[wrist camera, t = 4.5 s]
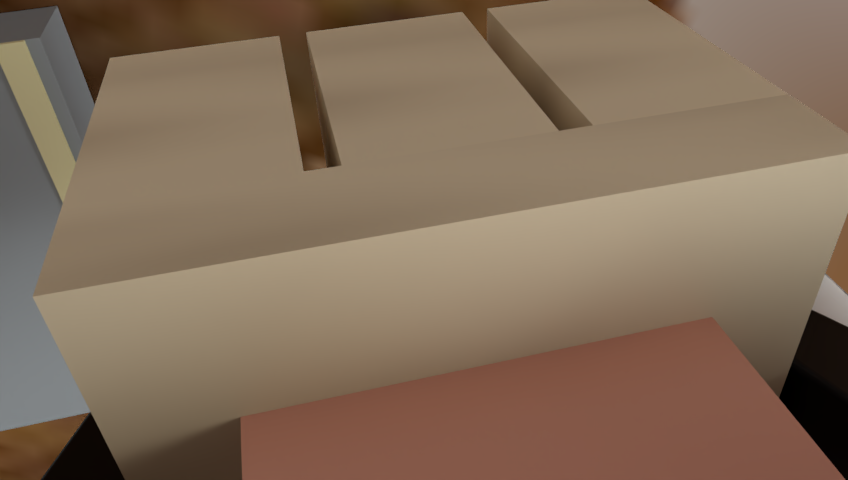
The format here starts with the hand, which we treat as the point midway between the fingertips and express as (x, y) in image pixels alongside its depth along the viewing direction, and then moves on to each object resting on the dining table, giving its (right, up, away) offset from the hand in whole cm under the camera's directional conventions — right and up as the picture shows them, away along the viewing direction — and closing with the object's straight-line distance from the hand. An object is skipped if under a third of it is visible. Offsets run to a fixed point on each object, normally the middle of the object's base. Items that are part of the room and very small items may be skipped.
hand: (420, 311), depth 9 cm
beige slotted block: (0, +1, +1) cm, 1 cm away
